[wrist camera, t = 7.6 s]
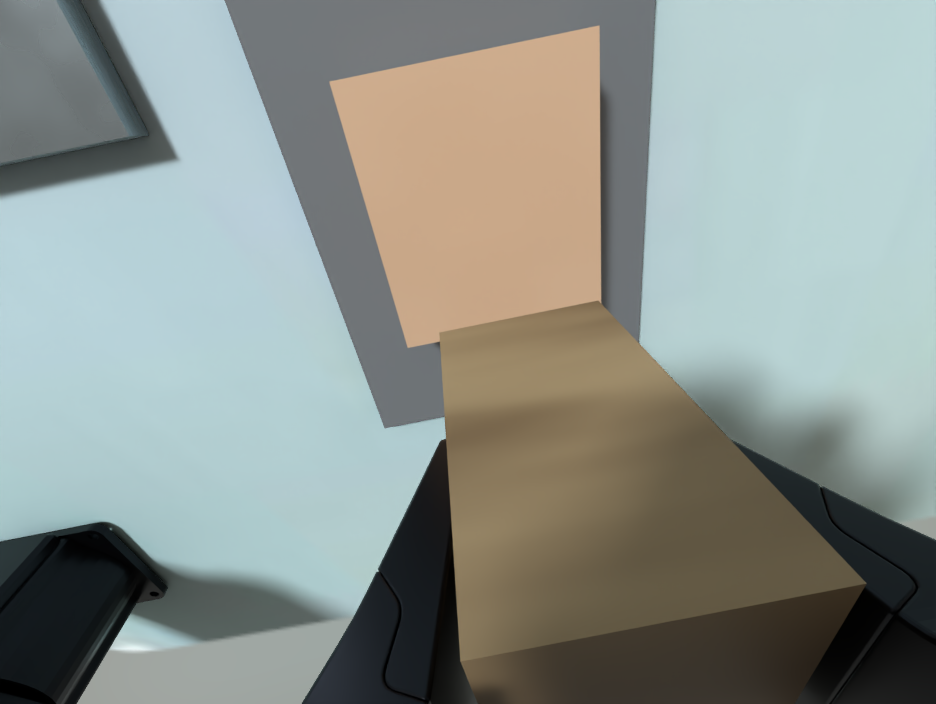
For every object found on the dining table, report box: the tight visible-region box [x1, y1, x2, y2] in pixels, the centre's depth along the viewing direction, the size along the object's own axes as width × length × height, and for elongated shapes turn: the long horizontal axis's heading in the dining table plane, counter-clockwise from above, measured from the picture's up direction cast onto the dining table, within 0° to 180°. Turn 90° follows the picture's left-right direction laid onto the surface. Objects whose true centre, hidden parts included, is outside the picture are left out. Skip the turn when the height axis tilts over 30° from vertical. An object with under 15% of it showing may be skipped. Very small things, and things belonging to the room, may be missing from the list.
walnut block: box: [439, 301, 867, 704], centre depth 8 cm, size 4×4×7 cm
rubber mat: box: [225, 0, 655, 428], centre depth 15 cm, size 16×12×1 cm
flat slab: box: [329, 26, 601, 348], centre depth 13 cm, size 2×7×8 cm
